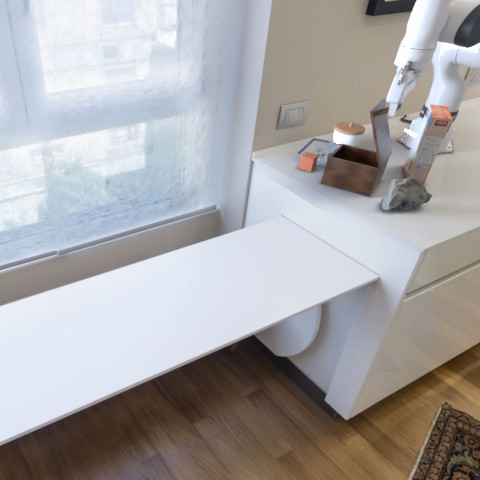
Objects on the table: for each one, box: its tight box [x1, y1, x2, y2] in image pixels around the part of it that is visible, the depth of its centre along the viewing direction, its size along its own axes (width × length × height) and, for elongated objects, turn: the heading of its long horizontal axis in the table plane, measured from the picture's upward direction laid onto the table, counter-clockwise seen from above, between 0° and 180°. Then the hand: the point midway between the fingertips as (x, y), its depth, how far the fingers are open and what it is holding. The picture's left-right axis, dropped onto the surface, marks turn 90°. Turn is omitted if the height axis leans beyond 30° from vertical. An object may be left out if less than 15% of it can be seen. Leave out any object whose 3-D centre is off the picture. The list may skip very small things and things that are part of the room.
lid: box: [369, 98, 398, 168], centre depth 131 cm, size 17×14×5 cm
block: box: [298, 151, 319, 173], centre depth 151 cm, size 4×4×4 cm
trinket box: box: [332, 121, 366, 147], centre depth 164 cm, size 11×11×9 cm
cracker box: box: [403, 104, 454, 185], centre depth 143 cm, size 14×6×21 cm, turn 160°
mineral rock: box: [380, 176, 433, 212], centre depth 129 cm, size 13×11×10 cm
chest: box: [320, 144, 391, 197], centre depth 142 cm, size 16×14×9 cm
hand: (393, 112), depth 127 cm, fingers closed on lid, 5 cm apart
